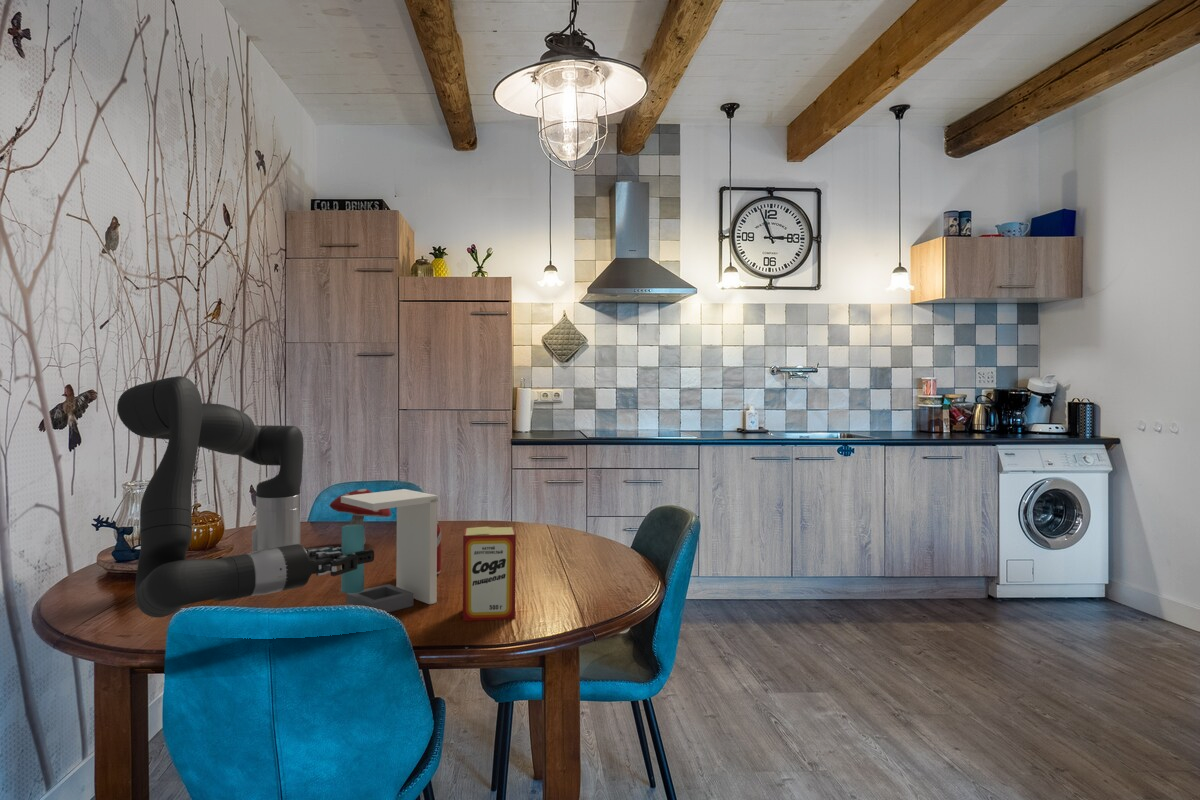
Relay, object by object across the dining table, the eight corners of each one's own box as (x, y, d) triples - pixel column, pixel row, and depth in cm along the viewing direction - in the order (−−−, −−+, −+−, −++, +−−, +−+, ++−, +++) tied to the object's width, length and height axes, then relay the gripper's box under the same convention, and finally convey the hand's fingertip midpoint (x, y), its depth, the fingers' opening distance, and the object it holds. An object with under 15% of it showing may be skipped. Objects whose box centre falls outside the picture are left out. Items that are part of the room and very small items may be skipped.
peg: (337, 592, 128) (337, 528, 128) (347, 586, 132) (347, 524, 132) (358, 593, 128) (358, 529, 128) (367, 587, 132) (367, 524, 132)
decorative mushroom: (346, 537, 194) (346, 484, 194) (400, 539, 193) (401, 485, 192) (317, 550, 179) (317, 492, 178) (376, 553, 177) (376, 494, 177)
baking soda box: (513, 607, 134) (514, 525, 134) (515, 618, 128) (515, 532, 128) (463, 609, 133) (464, 526, 133) (462, 621, 126) (463, 533, 126)
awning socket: (372, 619, 127) (373, 503, 126) (340, 605, 135) (340, 496, 134) (437, 602, 137) (438, 495, 137) (403, 590, 145) (404, 489, 145)
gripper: (293, 555, 115) (386, 539, 127) (258, 541, 124) (348, 528, 137) (293, 600, 115) (386, 579, 128) (258, 583, 124) (348, 565, 137)
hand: (366, 553), depth 132 cm, fingers closed on peg, 4 cm apart
